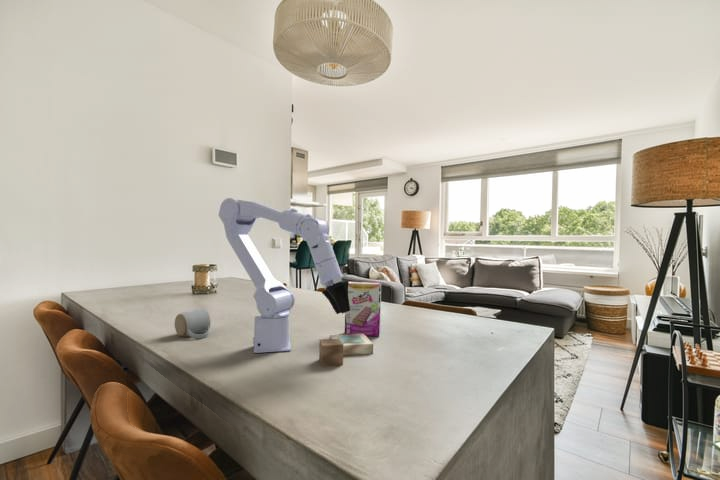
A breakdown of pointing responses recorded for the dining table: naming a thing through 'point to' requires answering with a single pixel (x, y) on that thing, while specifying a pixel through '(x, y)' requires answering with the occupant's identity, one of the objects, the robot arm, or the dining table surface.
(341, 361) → the walnut cube
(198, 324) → the ceramic mug
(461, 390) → the dining table surface
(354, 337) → the base
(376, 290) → the candy bar box
